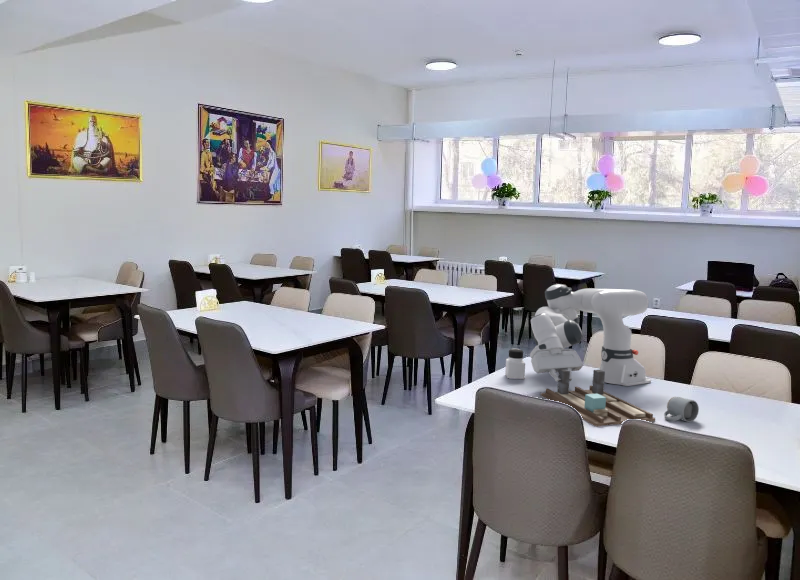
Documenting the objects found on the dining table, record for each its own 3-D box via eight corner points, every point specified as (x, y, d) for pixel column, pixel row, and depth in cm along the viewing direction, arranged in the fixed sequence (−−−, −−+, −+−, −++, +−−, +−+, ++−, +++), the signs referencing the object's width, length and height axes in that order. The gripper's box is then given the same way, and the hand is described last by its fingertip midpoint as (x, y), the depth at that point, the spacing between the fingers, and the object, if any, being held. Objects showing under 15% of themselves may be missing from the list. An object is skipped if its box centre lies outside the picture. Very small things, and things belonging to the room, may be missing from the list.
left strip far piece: (620, 404, 237) (620, 401, 237) (645, 416, 224) (645, 413, 224) (608, 405, 236) (608, 402, 235) (633, 417, 222) (633, 414, 222)
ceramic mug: (679, 413, 232) (680, 393, 231) (698, 420, 225) (700, 399, 224) (657, 417, 227) (659, 396, 226) (676, 424, 220) (678, 403, 219)
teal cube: (596, 407, 229) (597, 393, 229) (604, 411, 224) (606, 397, 224) (584, 408, 228) (585, 394, 227) (592, 412, 223) (593, 398, 222)
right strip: (566, 394, 248) (567, 368, 246) (607, 416, 223) (609, 387, 222) (554, 395, 246) (556, 369, 245) (594, 417, 222) (597, 388, 220)
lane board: (593, 391, 257) (594, 385, 256) (655, 421, 223) (655, 413, 223) (540, 395, 249) (541, 388, 249) (595, 426, 216) (596, 418, 215)
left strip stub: (600, 395, 248) (602, 369, 247) (616, 402, 239) (618, 376, 238) (589, 395, 247) (591, 370, 245) (605, 403, 237) (607, 376, 236)
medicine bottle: (524, 379, 272) (526, 351, 271) (507, 378, 272) (509, 351, 271) (521, 375, 279) (523, 347, 278) (505, 374, 279) (506, 347, 278)
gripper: (571, 352, 258) (583, 383, 250) (525, 355, 251) (537, 386, 243) (578, 344, 253) (591, 374, 245) (532, 346, 246) (544, 378, 238)
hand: (564, 380), depth 244 cm, fingers open, 3 cm apart
